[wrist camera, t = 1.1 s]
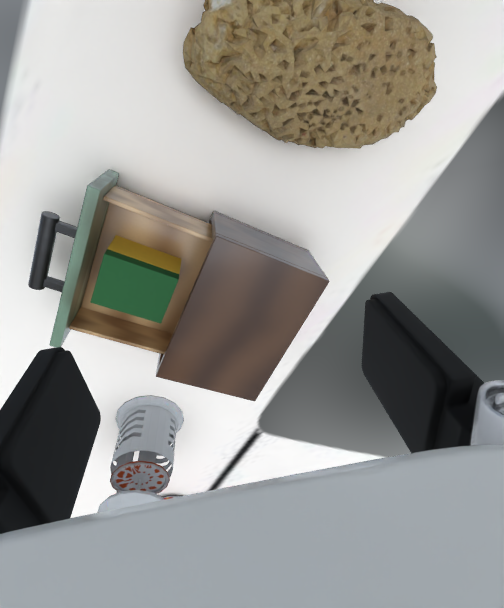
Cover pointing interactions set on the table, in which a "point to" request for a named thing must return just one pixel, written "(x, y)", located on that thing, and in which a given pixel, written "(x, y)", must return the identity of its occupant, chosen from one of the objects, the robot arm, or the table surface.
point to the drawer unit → (241, 310)
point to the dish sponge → (136, 279)
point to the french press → (143, 451)
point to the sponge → (314, 67)
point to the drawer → (89, 253)
